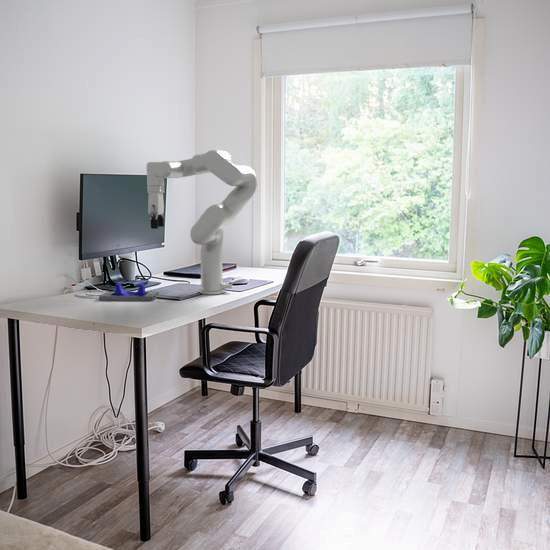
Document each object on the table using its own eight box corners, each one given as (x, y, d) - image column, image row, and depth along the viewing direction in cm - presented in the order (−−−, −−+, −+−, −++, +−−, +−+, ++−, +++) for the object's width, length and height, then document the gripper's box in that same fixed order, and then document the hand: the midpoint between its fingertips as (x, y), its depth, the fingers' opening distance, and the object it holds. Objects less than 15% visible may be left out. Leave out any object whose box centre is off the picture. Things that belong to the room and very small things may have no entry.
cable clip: (115, 299, 275) (114, 285, 274) (118, 296, 279) (117, 283, 278) (142, 299, 274) (141, 285, 273) (145, 297, 278) (144, 283, 277)
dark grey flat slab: (159, 296, 279) (158, 291, 278) (152, 301, 269) (152, 295, 268) (107, 295, 281) (107, 290, 280) (99, 300, 271) (99, 295, 271)
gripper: (153, 189, 298) (154, 225, 301) (142, 190, 281) (143, 229, 284) (168, 188, 297) (170, 225, 300) (158, 190, 280) (160, 229, 283)
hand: (157, 227), depth 292 cm, fingers open, 9 cm apart
